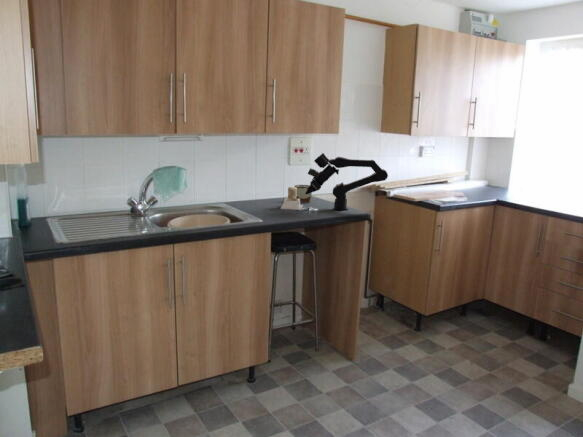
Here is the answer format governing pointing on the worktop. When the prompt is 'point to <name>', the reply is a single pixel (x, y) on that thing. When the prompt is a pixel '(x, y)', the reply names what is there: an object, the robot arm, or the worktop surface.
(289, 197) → the wooden post
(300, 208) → the well
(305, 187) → the food container
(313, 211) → the worktop surface
